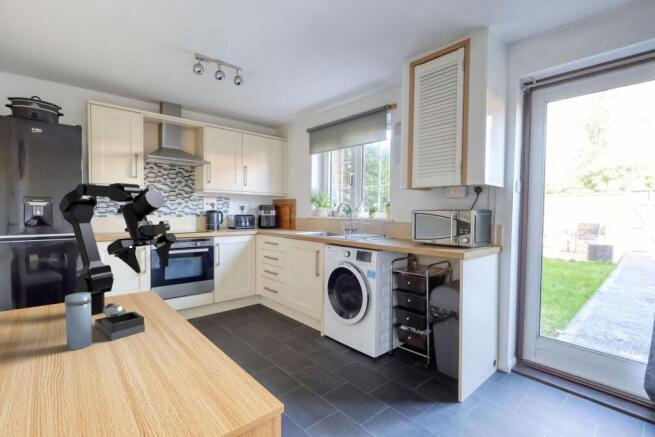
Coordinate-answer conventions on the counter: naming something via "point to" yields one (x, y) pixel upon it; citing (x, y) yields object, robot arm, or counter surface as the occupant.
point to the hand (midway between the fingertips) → (153, 269)
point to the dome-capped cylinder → (78, 320)
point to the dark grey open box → (119, 322)
